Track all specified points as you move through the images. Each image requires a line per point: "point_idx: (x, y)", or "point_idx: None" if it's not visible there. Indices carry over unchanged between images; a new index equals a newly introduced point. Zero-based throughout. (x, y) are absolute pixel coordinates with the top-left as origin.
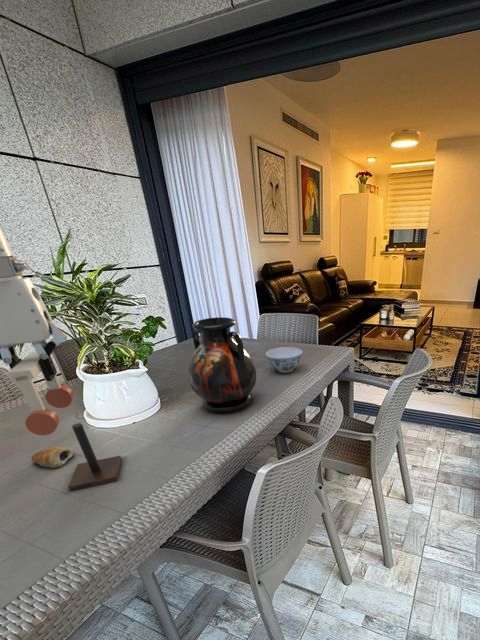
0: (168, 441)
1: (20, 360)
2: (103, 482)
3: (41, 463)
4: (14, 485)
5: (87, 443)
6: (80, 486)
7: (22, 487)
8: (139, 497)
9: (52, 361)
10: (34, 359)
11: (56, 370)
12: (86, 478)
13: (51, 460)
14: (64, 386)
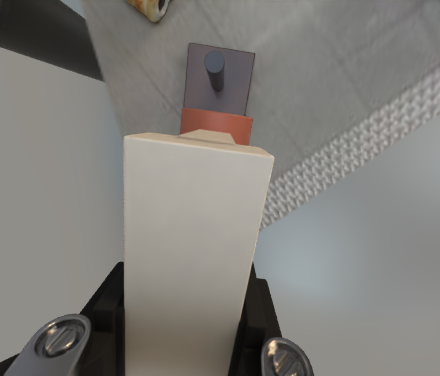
0: (335, 32)
1: (122, 337)
2: None
3: (129, 3)
4: (102, 46)
5: (221, 79)
6: None
7: (116, 61)
8: None
9: (276, 321)
10: (197, 343)
11: (266, 281)
12: (205, 102)
13: (146, 10)
14: (239, 126)
